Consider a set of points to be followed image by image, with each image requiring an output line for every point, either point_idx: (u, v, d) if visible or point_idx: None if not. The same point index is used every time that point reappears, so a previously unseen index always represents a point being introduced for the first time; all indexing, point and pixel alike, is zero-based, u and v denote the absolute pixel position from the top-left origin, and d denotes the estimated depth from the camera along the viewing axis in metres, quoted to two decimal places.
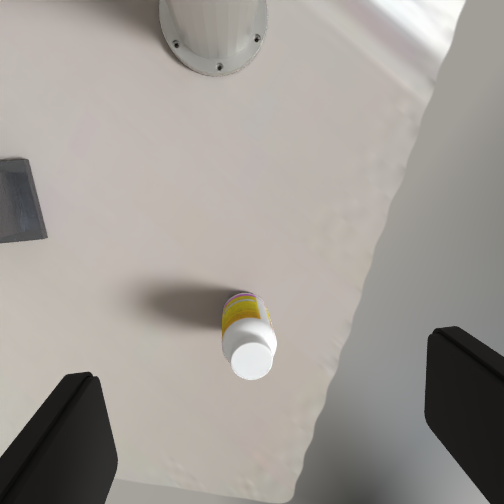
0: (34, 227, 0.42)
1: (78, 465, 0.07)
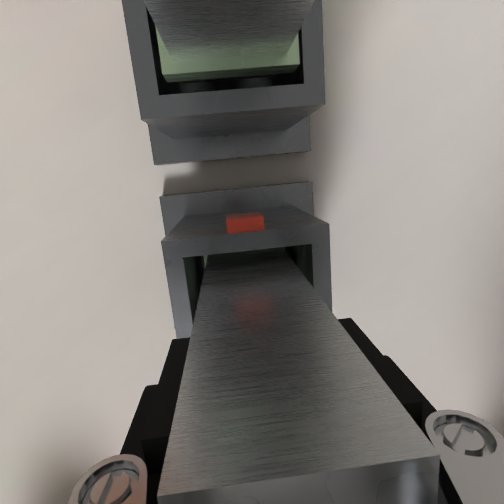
0: None
1: None
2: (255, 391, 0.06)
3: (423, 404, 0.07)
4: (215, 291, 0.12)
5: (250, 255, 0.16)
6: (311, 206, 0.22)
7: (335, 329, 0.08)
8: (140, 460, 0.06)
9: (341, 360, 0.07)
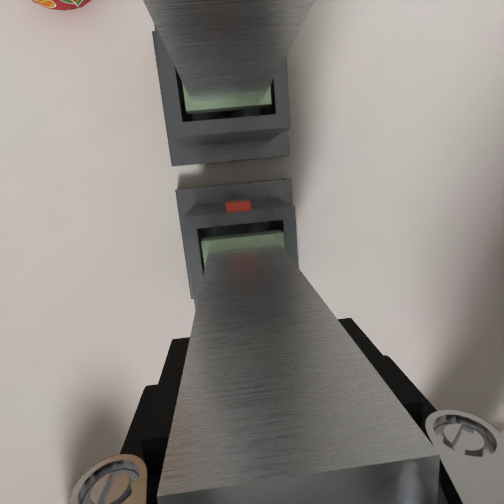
0: None
1: None
2: (255, 391, 0.06)
3: (423, 404, 0.07)
4: (215, 291, 0.12)
5: (249, 254, 0.16)
6: (290, 197, 0.29)
7: (335, 328, 0.08)
8: (140, 460, 0.06)
9: (341, 360, 0.07)
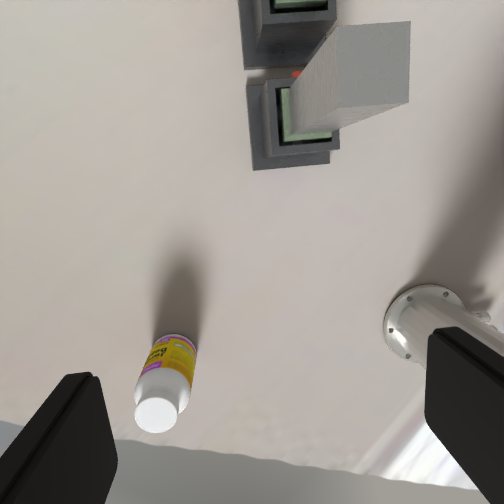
0: (265, 163, 0.42)
1: (78, 465, 0.07)
2: None
3: None
4: None
5: None
6: None
7: None
8: None
9: None
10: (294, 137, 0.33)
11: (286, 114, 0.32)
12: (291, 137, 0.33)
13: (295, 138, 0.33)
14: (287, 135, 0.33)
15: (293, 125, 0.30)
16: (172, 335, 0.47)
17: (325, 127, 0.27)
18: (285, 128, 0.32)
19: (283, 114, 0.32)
